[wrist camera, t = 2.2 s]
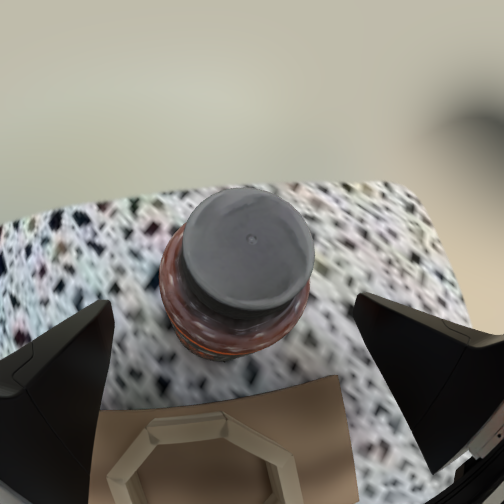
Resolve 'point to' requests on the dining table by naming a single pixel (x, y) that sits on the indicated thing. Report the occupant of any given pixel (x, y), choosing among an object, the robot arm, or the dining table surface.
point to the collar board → (229, 451)
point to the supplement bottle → (237, 273)
